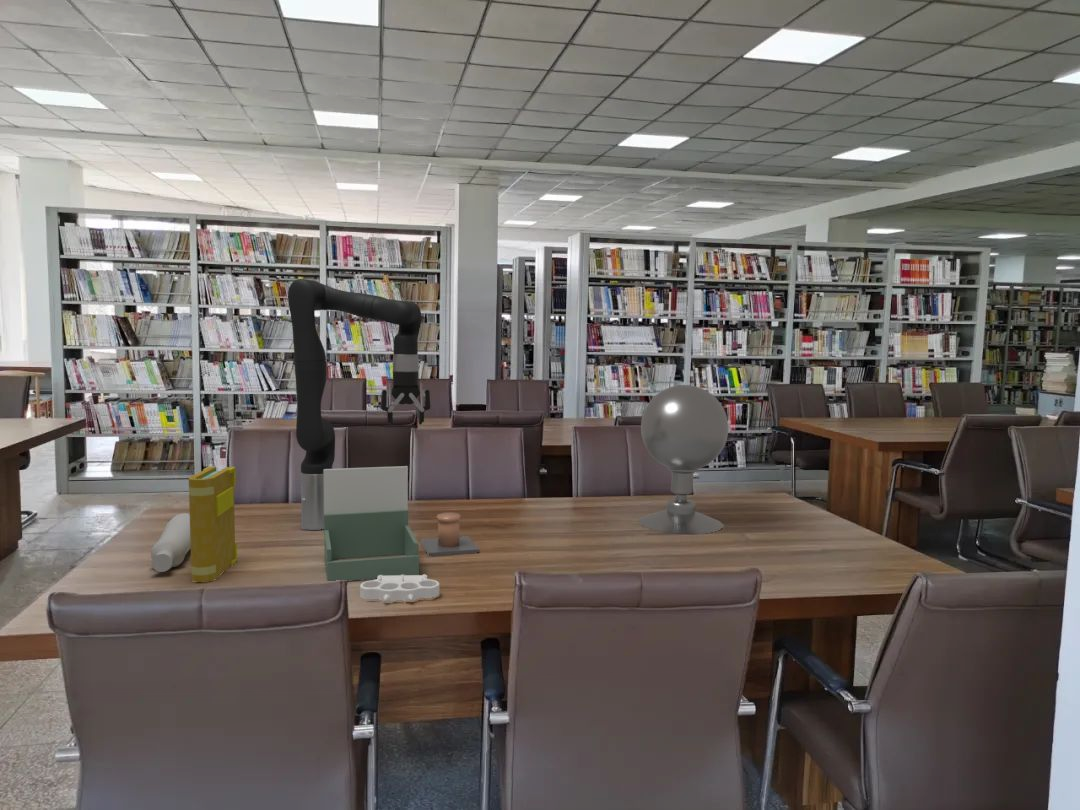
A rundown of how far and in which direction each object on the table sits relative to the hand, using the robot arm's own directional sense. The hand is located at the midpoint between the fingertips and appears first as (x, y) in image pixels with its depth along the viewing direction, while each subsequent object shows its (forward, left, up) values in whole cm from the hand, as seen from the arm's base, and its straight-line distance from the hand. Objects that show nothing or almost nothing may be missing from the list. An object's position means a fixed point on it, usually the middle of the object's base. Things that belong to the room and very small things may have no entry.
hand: (405, 424), depth 221 cm
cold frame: (-13, -29, -33) cm, 46 cm away
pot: (+10, -17, -32) cm, 38 cm away
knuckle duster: (-8, -51, -34) cm, 62 cm away
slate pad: (+10, -17, -33) cm, 39 cm away
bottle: (-62, -9, -34) cm, 71 cm away
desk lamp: (+88, -8, -33) cm, 94 cm away
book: (-51, -23, -33) cm, 65 cm away
